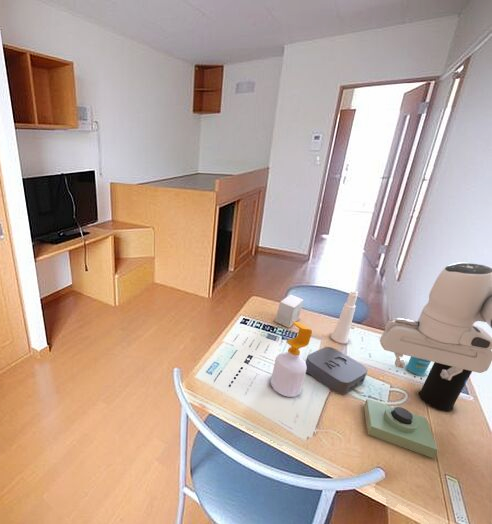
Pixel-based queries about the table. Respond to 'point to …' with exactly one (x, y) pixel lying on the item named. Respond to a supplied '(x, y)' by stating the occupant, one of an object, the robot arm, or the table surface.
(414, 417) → the button block
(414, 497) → the table surface
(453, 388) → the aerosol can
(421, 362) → the tube
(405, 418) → the dark grey button
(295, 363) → the soap bottle
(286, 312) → the cosmetics box
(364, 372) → the streaming box
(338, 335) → the cosmetic bottle
